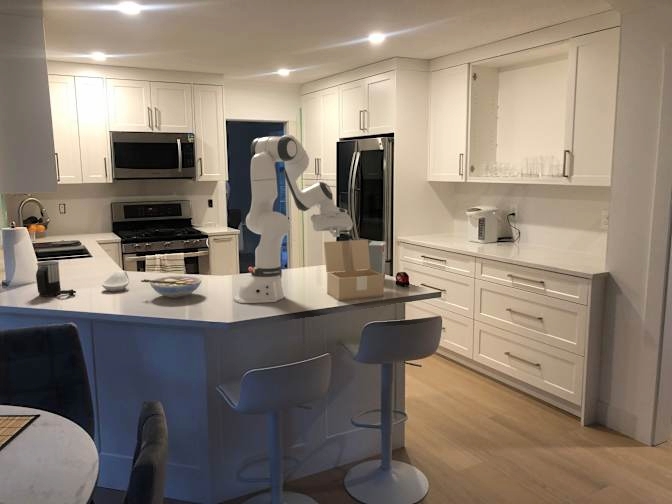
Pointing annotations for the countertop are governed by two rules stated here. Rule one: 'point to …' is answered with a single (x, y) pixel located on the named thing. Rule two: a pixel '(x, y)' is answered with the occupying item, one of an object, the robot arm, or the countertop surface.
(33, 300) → the countertop surface
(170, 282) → the ramen bowl
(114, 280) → the spoon rest
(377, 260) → the hard drive box
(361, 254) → the lid
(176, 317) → the countertop surface
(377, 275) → the cardboard box
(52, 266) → the milk frother
